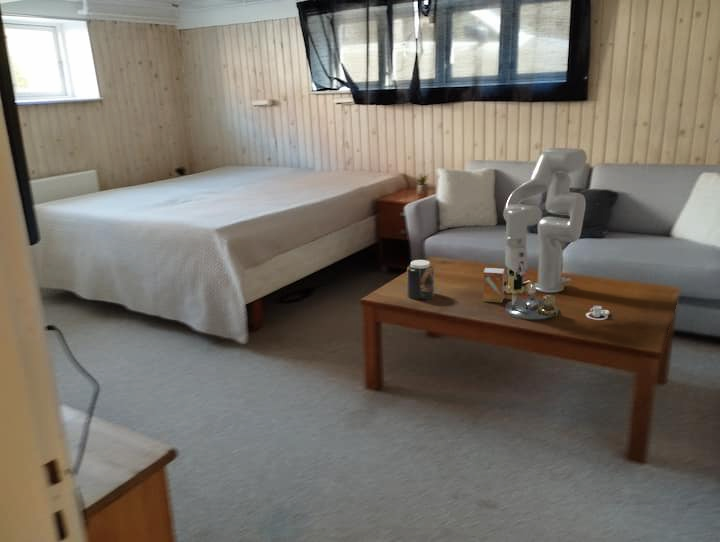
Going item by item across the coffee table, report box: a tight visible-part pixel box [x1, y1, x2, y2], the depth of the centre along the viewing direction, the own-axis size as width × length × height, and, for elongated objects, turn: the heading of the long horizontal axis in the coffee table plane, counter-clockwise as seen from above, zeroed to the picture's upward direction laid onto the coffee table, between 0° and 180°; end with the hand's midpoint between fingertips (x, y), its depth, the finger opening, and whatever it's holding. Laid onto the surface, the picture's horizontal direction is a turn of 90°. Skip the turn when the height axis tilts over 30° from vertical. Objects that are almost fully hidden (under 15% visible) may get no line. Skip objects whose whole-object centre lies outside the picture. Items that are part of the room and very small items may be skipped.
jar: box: [406, 259, 435, 301], centre depth 258 cm, size 12×12×15 cm
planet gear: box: [504, 273, 526, 295], centre depth 233 cm, size 8×7×6 cm
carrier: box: [504, 283, 560, 321], centre depth 237 cm, size 20×20×8 cm
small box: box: [482, 267, 506, 304], centre depth 249 cm, size 8×6×13 cm
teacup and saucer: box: [585, 305, 611, 321], centre depth 229 cm, size 9×8×4 cm
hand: (514, 286), depth 233 cm, fingers closed on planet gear, 4 cm apart
